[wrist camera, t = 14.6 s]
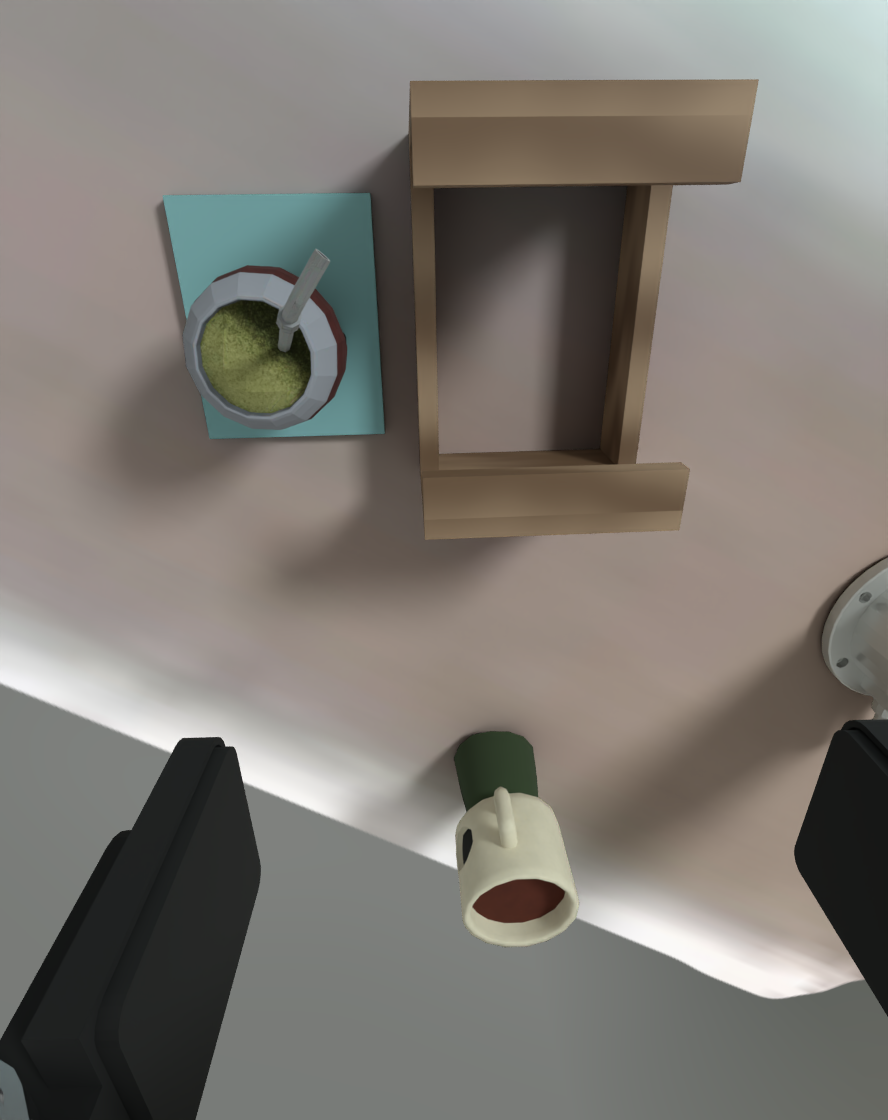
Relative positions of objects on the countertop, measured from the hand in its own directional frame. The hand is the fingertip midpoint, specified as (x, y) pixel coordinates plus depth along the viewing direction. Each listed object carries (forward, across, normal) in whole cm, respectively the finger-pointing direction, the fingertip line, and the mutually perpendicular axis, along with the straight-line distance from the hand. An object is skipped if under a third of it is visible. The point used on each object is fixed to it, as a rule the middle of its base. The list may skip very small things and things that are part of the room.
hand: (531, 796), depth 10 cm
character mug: (+30, -3, +27) cm, 40 cm away
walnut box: (+29, -4, -5) cm, 29 cm away
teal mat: (+28, +9, -5) cm, 30 cm away
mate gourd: (+28, +9, -5) cm, 30 cm away
